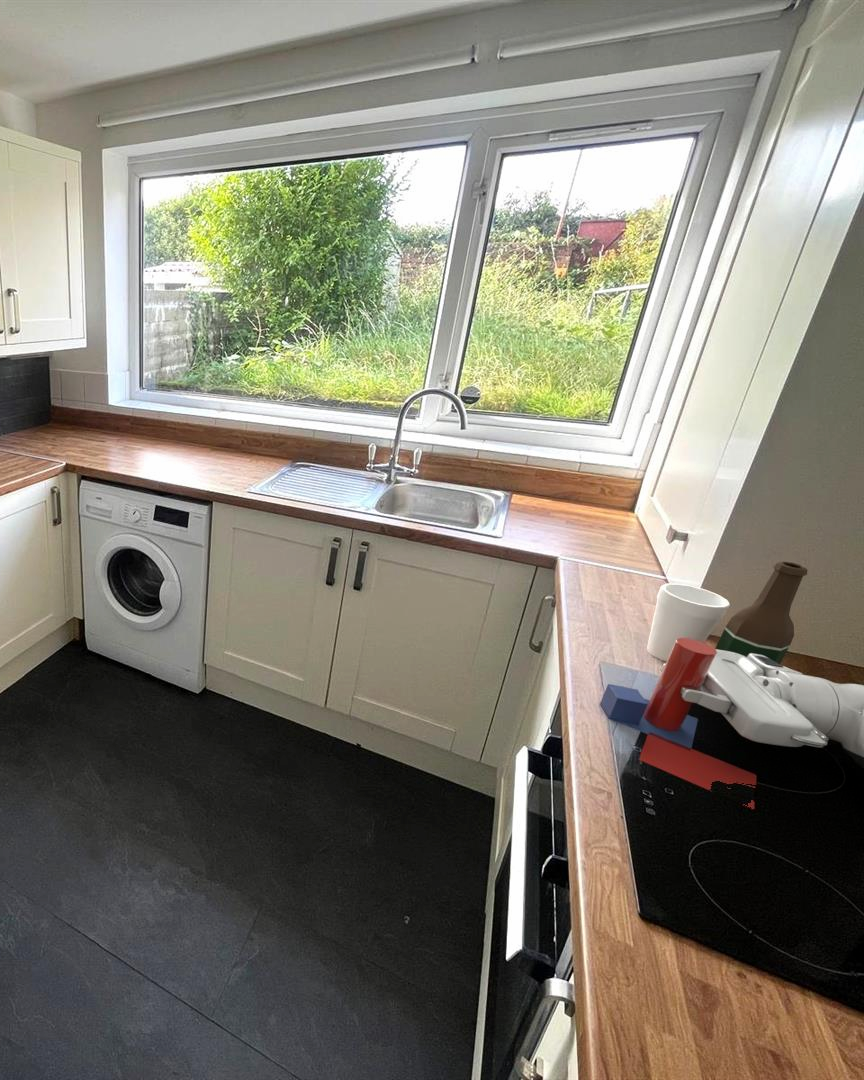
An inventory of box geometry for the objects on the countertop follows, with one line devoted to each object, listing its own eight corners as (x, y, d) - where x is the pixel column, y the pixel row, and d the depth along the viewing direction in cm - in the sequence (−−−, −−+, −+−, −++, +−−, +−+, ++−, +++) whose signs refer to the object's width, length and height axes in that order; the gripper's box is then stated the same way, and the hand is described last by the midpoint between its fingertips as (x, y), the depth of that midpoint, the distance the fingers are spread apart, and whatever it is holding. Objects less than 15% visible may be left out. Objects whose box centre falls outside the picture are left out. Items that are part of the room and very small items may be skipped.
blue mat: (697, 720, 93) (698, 718, 93) (689, 753, 86) (690, 751, 85) (620, 691, 99) (621, 689, 99) (607, 719, 92) (608, 717, 92)
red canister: (682, 722, 92) (718, 646, 86) (678, 735, 89) (715, 658, 83) (645, 708, 95) (678, 634, 89) (640, 720, 92) (674, 645, 86)
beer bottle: (729, 676, 104) (790, 555, 95) (774, 704, 97) (844, 576, 88) (688, 676, 104) (744, 554, 95) (729, 704, 97) (795, 575, 88)
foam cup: (624, 645, 113) (649, 586, 108) (657, 639, 116) (682, 580, 111) (678, 673, 105) (707, 610, 100) (712, 665, 108) (742, 604, 103)
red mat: (755, 777, 82) (756, 775, 81) (752, 812, 76) (754, 809, 76) (647, 733, 90) (648, 731, 89) (638, 761, 84) (638, 759, 84)
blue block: (628, 709, 94) (637, 689, 93) (638, 725, 91) (648, 704, 89) (599, 703, 95) (608, 683, 94) (608, 718, 92) (617, 698, 90)
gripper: (826, 768, 77) (698, 741, 81) (739, 681, 95) (638, 663, 99) (849, 730, 75) (717, 704, 79) (755, 648, 93) (651, 631, 97)
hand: (672, 680), depth 89 cm, fingers open, 5 cm apart
